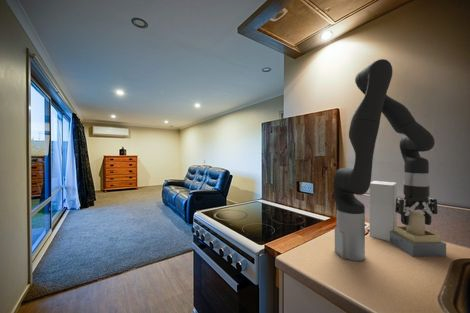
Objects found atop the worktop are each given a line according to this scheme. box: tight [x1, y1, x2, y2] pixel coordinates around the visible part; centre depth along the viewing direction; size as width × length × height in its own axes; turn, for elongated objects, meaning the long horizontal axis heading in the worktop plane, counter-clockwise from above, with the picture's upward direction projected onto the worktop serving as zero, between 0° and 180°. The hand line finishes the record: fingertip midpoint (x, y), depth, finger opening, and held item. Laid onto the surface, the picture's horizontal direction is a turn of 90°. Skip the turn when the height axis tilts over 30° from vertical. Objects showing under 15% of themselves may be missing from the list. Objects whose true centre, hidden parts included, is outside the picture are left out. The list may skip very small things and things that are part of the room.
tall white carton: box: [368, 180, 398, 242], centre depth 88 cm, size 9×9×25 cm
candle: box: [405, 210, 426, 235], centre depth 76 cm, size 6×6×10 cm
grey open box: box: [389, 225, 447, 258], centre depth 76 cm, size 12×11×8 cm
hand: (415, 224), depth 76 cm, fingers open, 8 cm apart
